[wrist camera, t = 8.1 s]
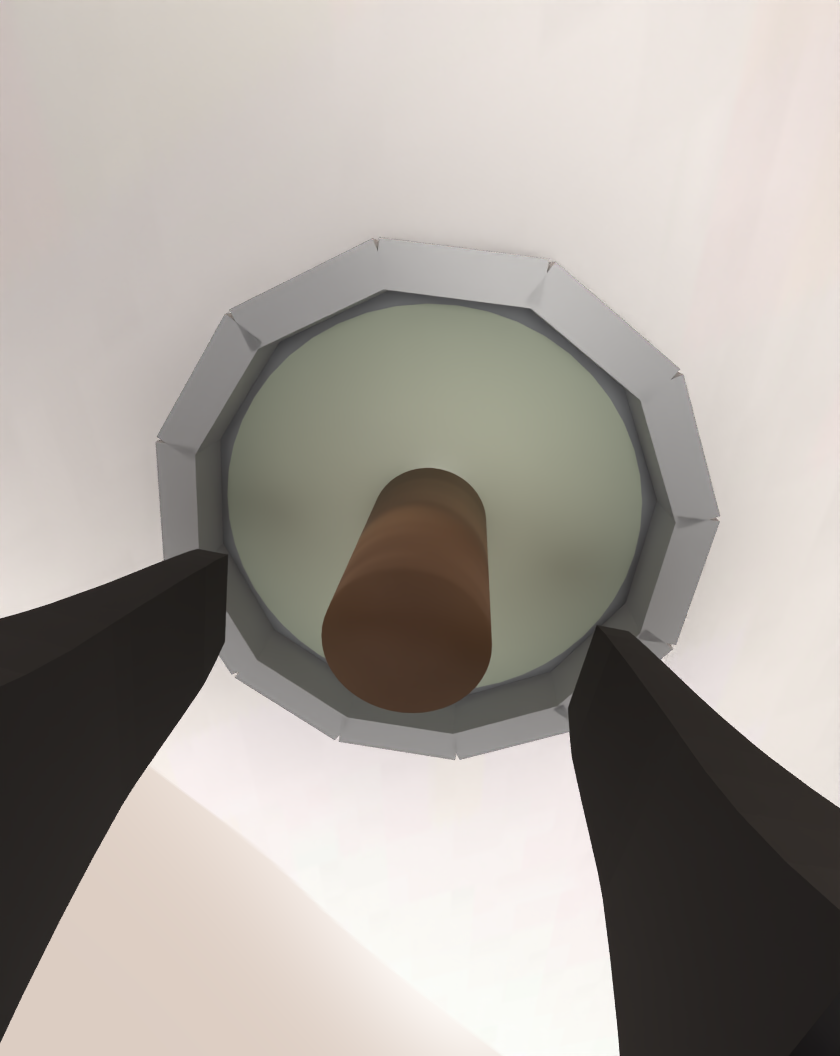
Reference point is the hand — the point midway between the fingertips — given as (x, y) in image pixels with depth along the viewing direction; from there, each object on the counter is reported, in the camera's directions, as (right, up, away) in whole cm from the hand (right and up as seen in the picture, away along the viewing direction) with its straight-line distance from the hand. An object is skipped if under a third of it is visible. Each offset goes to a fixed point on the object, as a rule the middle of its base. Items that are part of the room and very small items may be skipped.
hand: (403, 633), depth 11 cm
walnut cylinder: (+1, +2, +5) cm, 6 cm away
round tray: (+1, +2, +6) cm, 7 cm away
